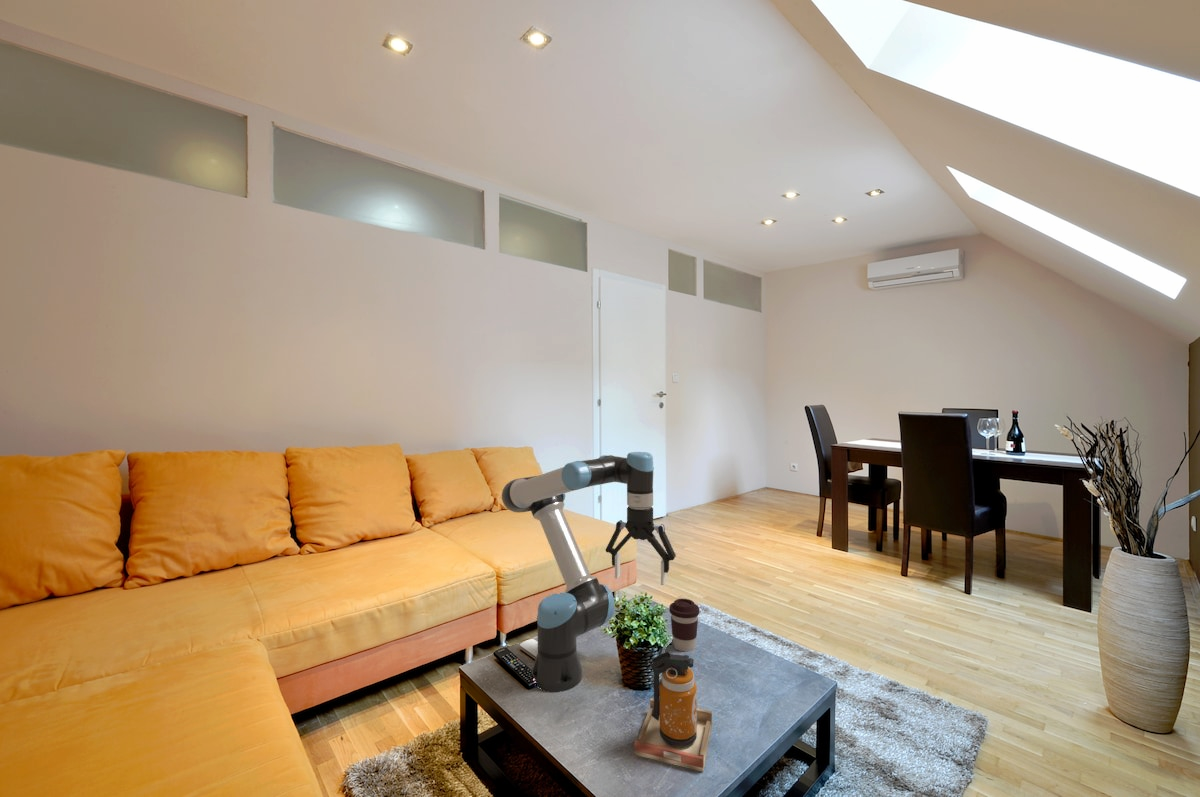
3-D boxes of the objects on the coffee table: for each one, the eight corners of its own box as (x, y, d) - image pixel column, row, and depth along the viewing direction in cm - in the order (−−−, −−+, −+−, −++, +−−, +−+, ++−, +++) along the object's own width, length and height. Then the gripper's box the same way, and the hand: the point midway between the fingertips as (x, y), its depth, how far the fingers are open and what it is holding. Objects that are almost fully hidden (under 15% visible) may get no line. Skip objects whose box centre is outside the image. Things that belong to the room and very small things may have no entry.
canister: (695, 752, 113) (695, 667, 113) (648, 744, 115) (648, 661, 115) (697, 726, 122) (697, 647, 121) (653, 719, 124) (653, 642, 124)
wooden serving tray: (634, 755, 113) (634, 739, 113) (650, 713, 129) (650, 698, 129) (703, 773, 108) (703, 756, 108) (712, 726, 123) (711, 711, 123)
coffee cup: (701, 642, 165) (701, 598, 165) (696, 657, 156) (696, 611, 155) (673, 637, 168) (672, 594, 168) (666, 651, 159) (666, 606, 159)
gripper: (594, 505, 139) (594, 578, 140) (680, 513, 131) (680, 591, 131) (603, 500, 146) (603, 569, 147) (685, 507, 138) (685, 581, 138)
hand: (640, 580), depth 139 cm, fingers open, 13 cm apart
